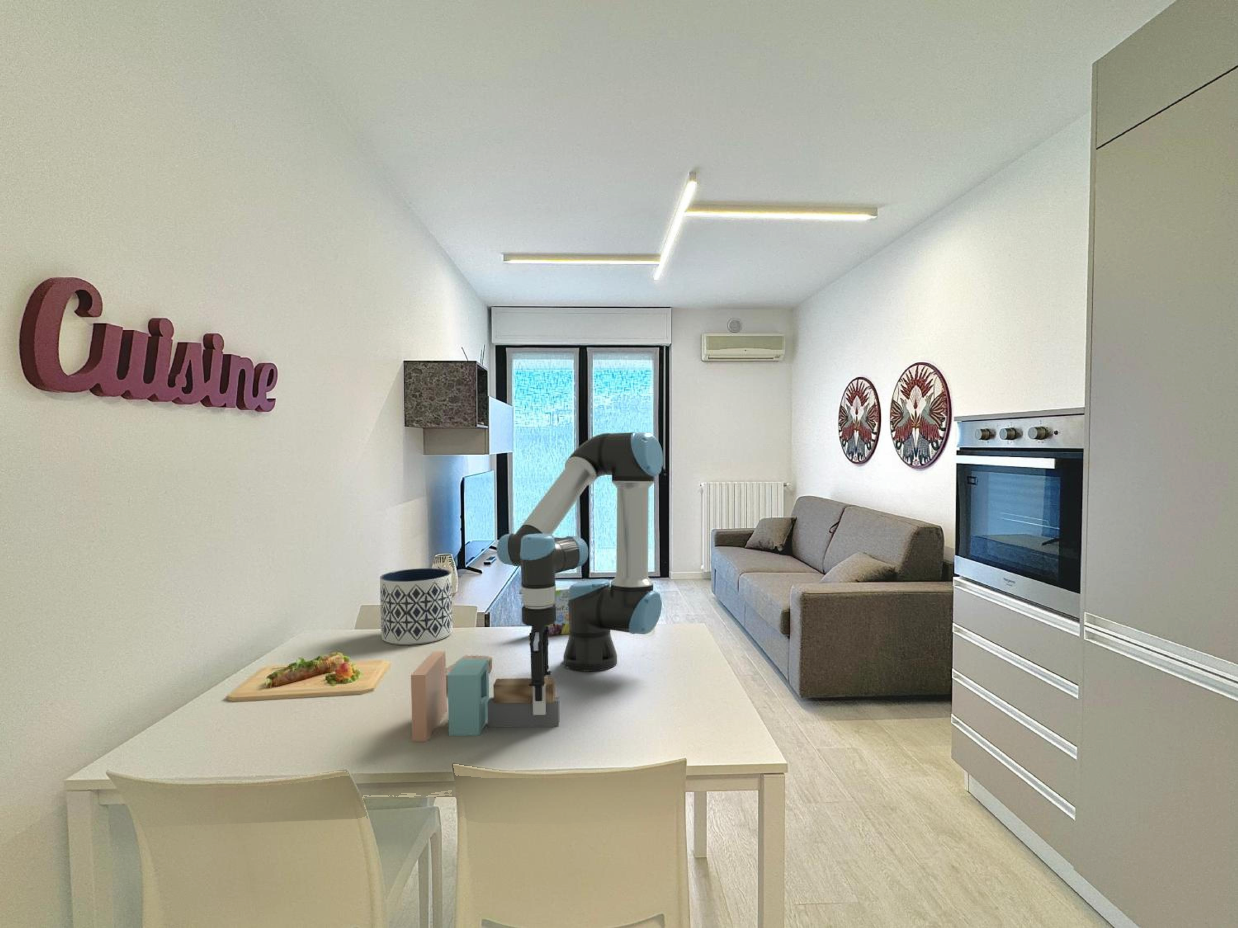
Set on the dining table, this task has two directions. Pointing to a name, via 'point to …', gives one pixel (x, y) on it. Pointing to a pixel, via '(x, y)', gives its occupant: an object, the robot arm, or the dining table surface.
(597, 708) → the dining table surface
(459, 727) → the block
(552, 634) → the snack box
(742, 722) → the dining table surface
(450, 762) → the dining table surface
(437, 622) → the planter
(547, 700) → the bar
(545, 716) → the rail
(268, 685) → the cutting board
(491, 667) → the brick
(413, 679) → the base
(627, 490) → the robot arm
